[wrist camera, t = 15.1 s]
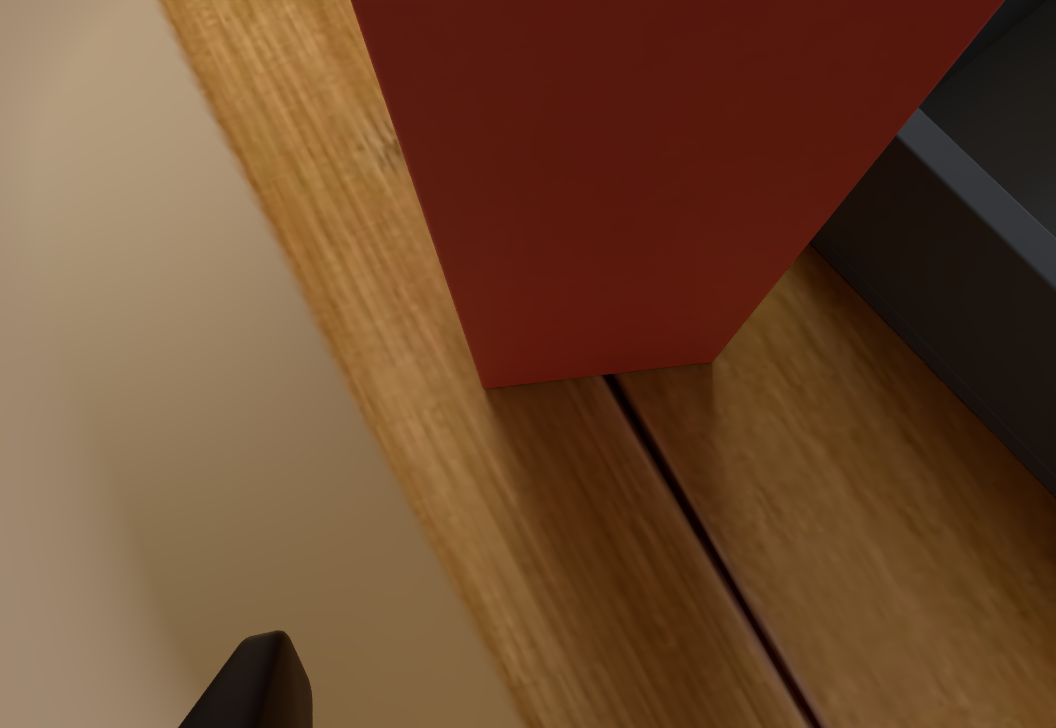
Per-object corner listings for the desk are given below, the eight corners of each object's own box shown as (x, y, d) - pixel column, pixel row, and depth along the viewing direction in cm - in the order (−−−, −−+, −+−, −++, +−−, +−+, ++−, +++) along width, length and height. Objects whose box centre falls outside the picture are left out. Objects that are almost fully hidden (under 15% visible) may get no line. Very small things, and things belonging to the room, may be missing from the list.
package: (712, 362, 17) (1163, -190, 5) (482, 390, 17) (316, -95, 5) (668, 116, 19) (920, -801, 6) (456, 140, 19) (276, -736, 6)
